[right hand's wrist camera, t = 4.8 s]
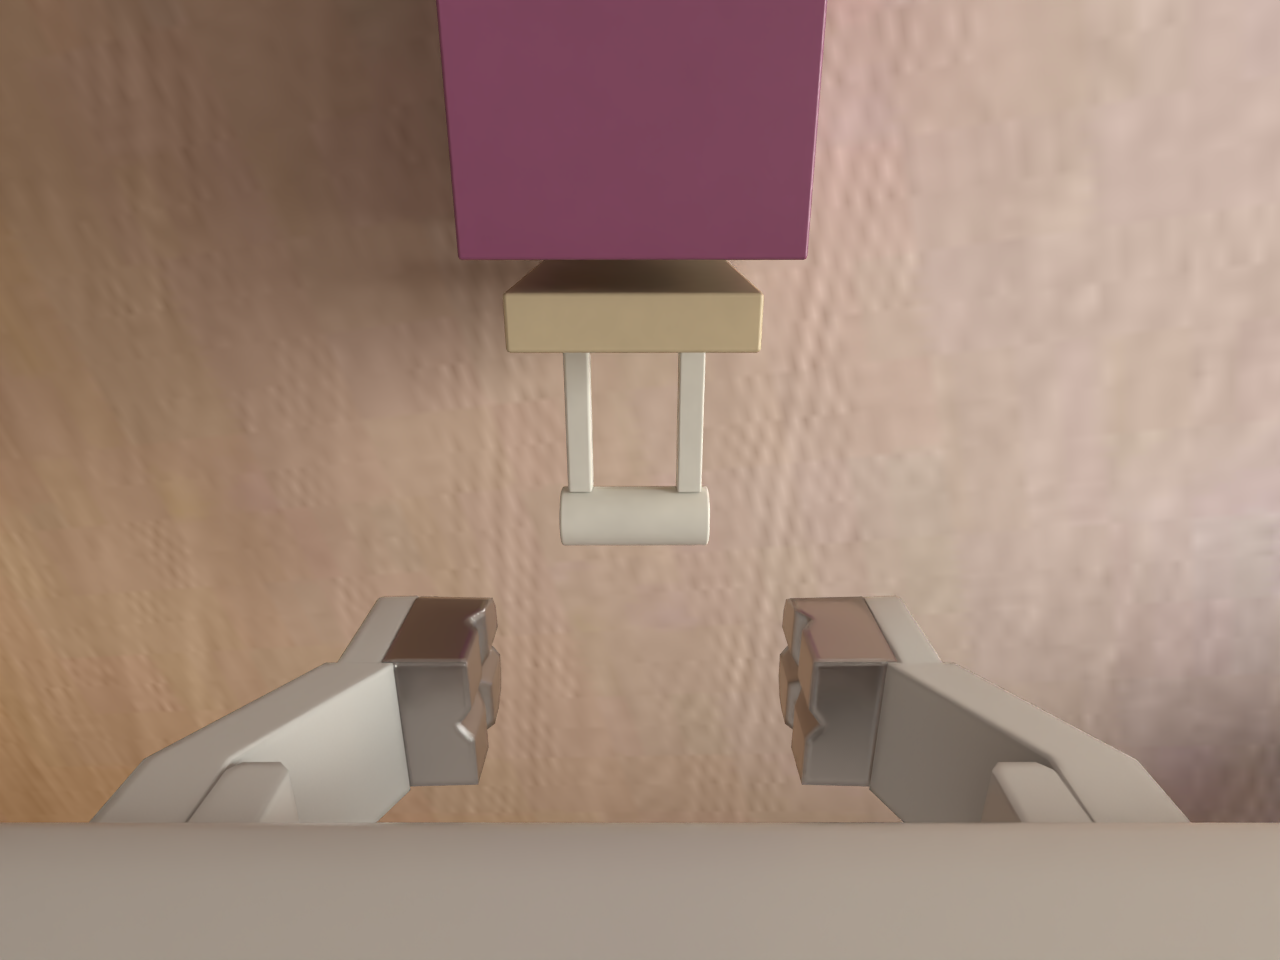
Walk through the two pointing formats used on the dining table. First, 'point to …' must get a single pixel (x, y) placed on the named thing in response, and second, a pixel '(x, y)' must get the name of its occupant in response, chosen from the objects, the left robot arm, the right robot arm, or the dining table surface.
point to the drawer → (634, 323)
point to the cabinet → (632, 127)
